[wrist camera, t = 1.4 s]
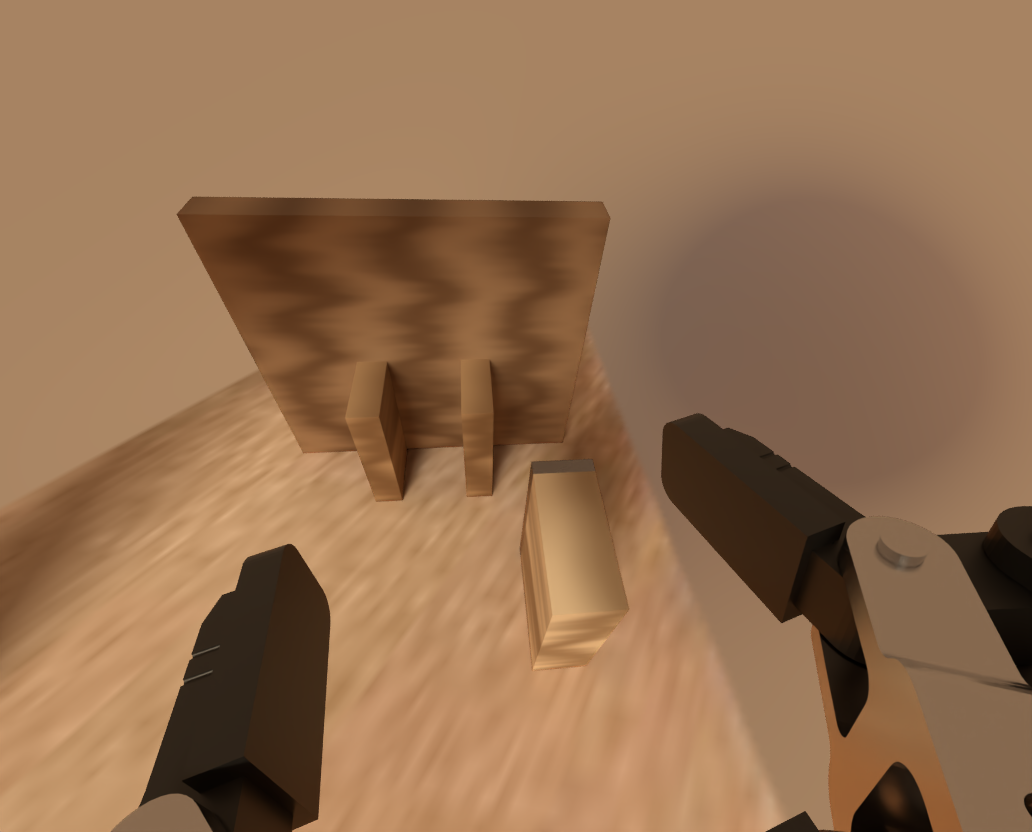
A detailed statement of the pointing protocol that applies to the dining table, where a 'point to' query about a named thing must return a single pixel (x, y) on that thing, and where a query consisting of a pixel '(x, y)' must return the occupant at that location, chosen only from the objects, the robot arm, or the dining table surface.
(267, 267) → the zigzag wooden panel
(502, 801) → the dining table surface
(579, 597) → the rail end
